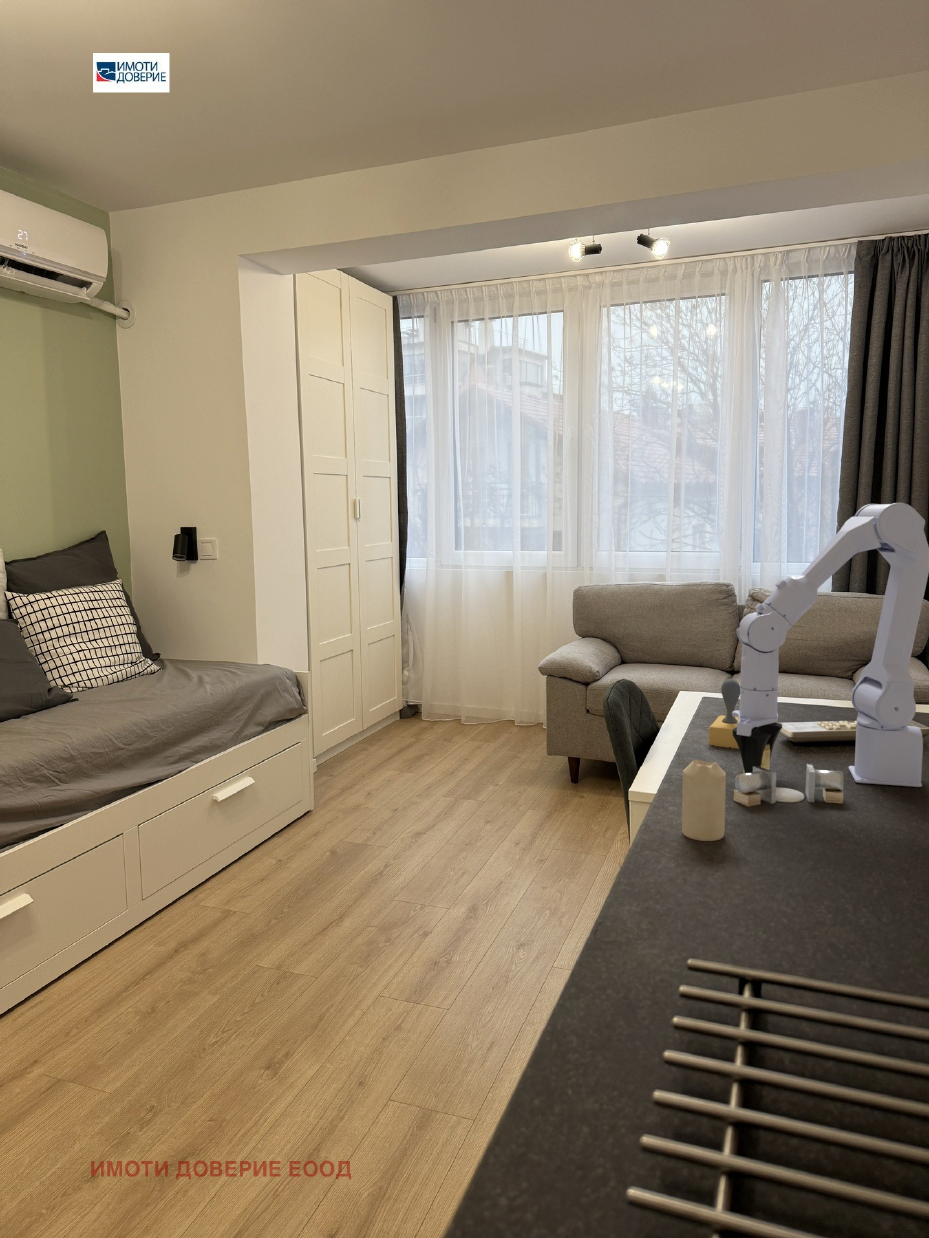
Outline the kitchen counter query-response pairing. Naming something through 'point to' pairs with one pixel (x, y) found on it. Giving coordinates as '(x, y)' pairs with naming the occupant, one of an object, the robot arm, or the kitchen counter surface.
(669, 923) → the kitchen counter surface
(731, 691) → the rubber stamp
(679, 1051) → the kitchen counter surface
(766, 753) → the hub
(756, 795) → the shaft
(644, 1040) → the kitchen counter surface
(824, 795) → the shaft
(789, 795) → the seat
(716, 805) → the candle
